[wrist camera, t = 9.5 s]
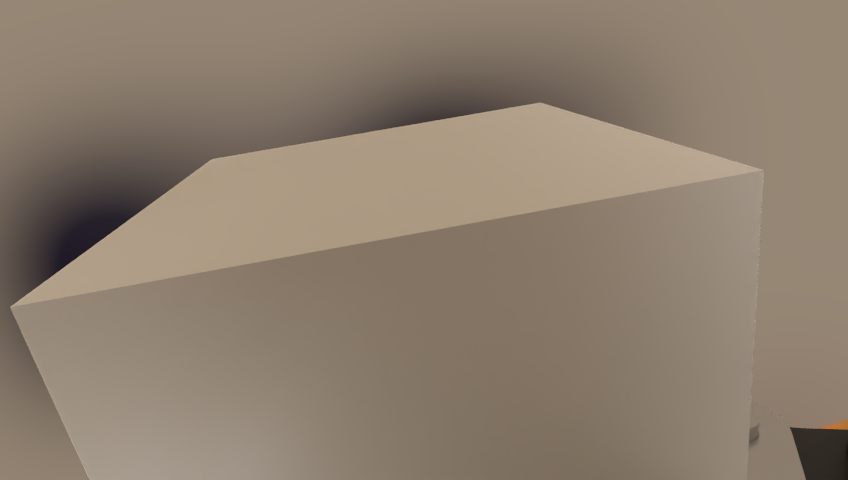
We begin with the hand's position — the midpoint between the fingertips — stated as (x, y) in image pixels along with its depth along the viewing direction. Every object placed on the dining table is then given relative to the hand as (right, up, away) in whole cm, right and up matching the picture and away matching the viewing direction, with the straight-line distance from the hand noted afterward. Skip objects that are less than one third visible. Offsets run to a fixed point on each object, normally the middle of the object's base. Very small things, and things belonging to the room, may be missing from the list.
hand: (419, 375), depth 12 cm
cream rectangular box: (+1, -7, 0) cm, 7 cm away
